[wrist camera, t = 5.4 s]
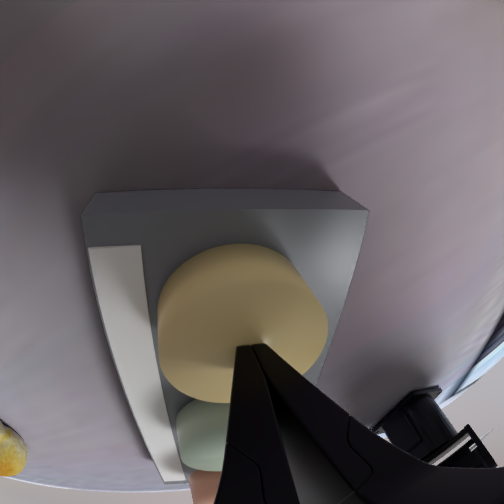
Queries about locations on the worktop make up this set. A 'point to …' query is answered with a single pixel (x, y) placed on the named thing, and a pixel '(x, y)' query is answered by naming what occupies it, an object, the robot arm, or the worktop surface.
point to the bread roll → (11, 452)
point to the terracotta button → (204, 486)
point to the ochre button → (234, 317)
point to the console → (187, 246)
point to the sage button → (202, 434)
